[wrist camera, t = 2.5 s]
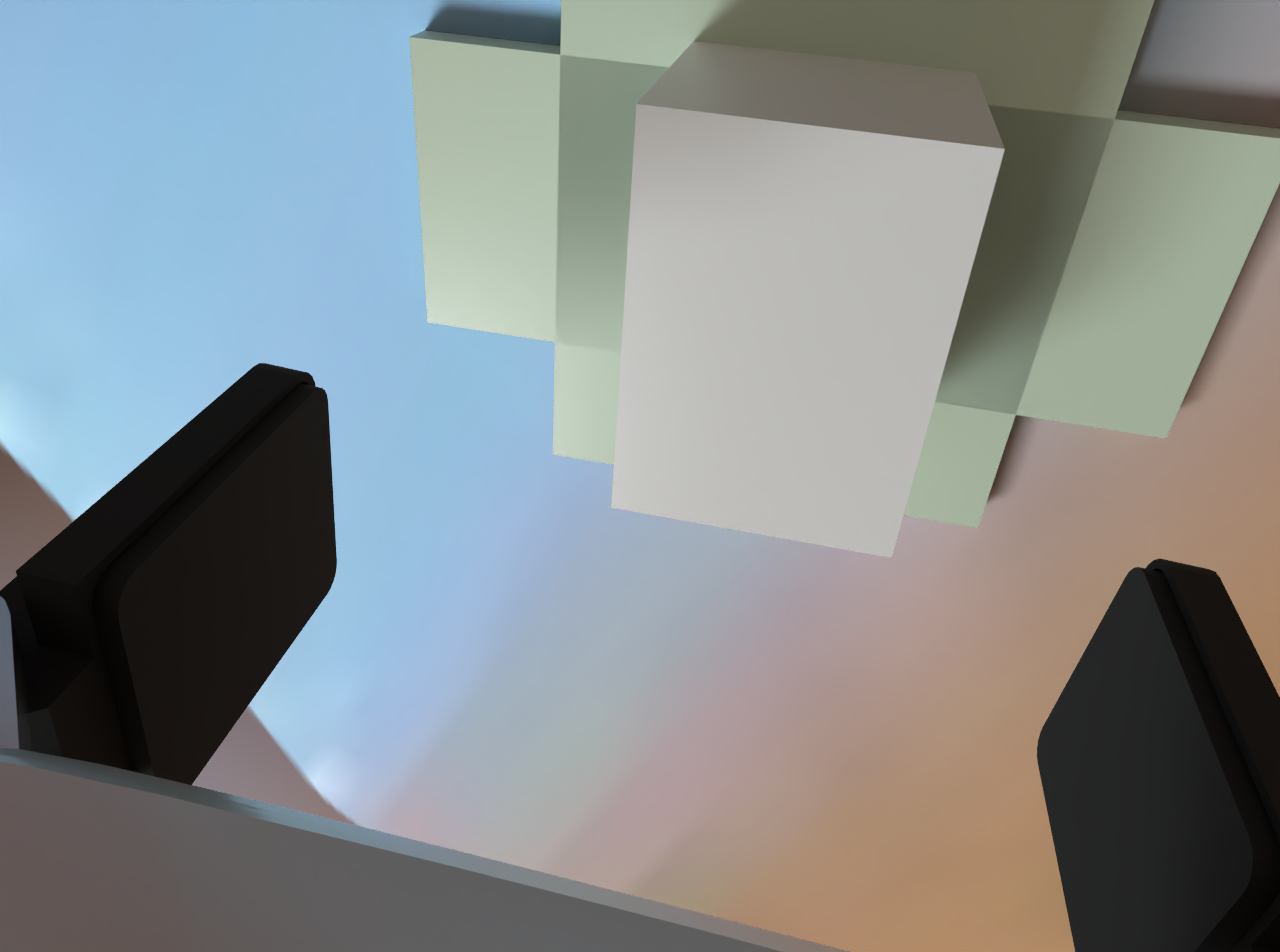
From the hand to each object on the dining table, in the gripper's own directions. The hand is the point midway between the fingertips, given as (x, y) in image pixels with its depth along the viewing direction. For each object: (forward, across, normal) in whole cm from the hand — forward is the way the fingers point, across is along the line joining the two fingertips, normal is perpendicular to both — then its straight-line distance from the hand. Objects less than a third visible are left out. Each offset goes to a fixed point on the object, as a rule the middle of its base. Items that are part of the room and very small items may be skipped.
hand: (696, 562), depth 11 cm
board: (+11, -1, 0) cm, 11 cm away
